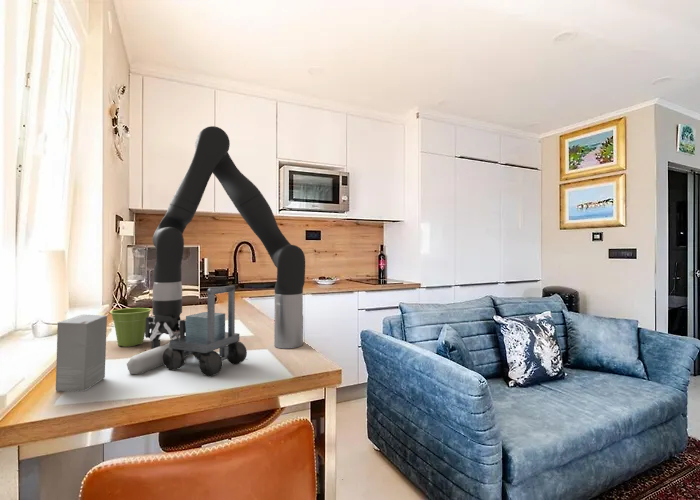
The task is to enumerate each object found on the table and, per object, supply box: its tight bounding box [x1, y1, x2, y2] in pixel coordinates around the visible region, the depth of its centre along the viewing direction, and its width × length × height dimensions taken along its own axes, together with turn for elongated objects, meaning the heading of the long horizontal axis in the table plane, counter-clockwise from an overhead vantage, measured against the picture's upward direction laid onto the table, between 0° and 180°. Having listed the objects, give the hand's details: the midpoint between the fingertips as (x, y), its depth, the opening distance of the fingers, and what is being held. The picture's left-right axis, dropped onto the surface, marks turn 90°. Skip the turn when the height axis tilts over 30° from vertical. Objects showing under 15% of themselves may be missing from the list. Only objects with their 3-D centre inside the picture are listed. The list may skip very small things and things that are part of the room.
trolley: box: [163, 284, 248, 377], centre depth 98 cm, size 13×18×22 cm
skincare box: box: [55, 314, 108, 392], centre depth 84 cm, size 8×7×16 cm
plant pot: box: [109, 307, 153, 347], centre depth 120 cm, size 12×12×11 cm
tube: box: [126, 342, 185, 375], centre depth 103 cm, size 5×5×25 cm
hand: (167, 354), depth 103 cm, fingers open, 8 cm apart
